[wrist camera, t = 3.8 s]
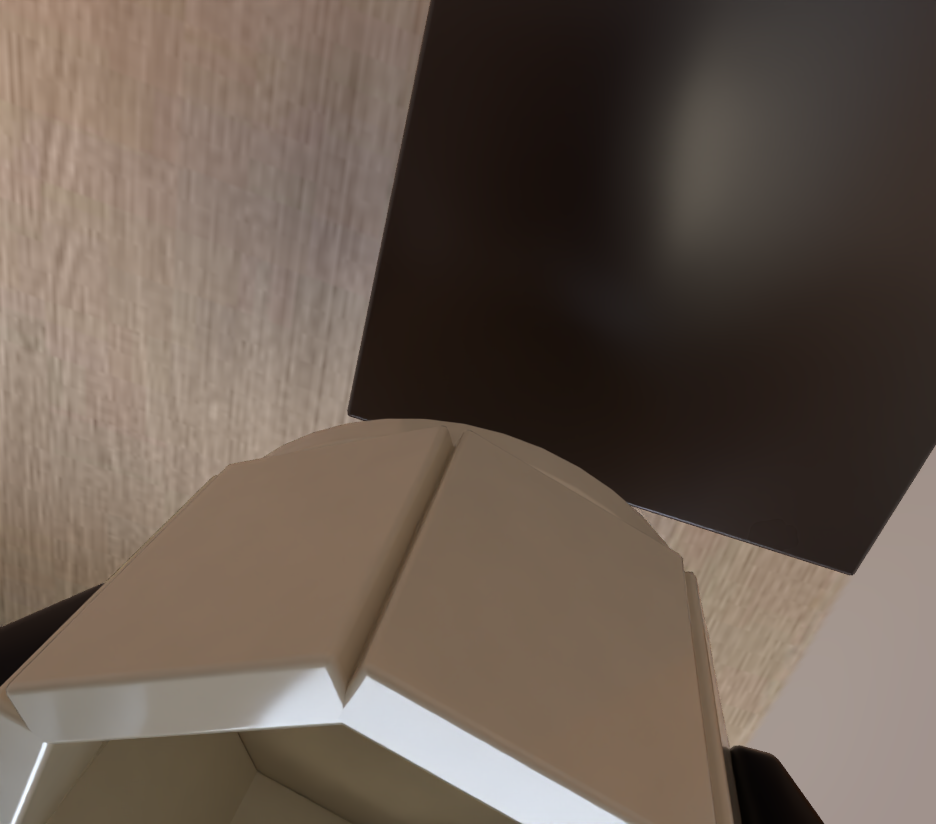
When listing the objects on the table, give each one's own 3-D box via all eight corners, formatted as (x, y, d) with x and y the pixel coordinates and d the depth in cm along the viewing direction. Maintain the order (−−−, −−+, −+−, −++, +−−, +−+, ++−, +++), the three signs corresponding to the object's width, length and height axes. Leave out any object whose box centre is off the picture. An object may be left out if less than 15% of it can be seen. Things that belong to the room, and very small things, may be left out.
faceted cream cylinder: (838, 619, 7) (1004, 1028, 4) (525, 903, 10) (482, 1284, 7) (307, 301, 7) (50, 489, 4) (129, 684, 10) (-110, 978, 6)
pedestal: (877, 28, 15) (1236, -28, 7) (739, 333, 19) (854, 579, 10) (555, -63, 16) (476, -233, 7) (472, 252, 19) (345, 417, 10)
